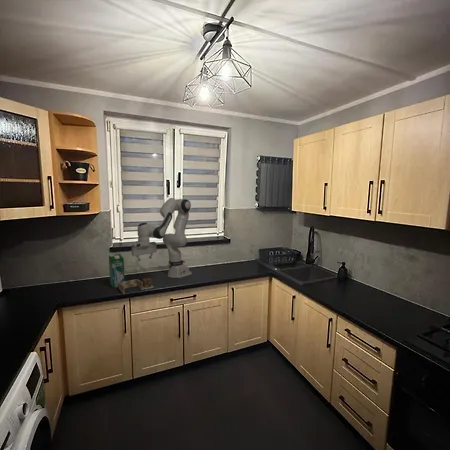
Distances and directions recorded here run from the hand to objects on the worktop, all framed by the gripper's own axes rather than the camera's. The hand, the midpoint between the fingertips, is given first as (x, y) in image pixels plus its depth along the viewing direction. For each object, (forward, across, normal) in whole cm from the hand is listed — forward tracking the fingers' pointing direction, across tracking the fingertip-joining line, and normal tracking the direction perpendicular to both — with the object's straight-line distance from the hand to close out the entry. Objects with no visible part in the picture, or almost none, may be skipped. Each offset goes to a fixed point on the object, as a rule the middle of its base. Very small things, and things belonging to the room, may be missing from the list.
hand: (145, 259), depth 208 cm
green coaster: (+22, +1, +4) cm, 22 cm away
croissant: (+22, +13, +1) cm, 25 cm away
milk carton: (+22, +18, -16) cm, 33 cm away
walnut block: (+21, +1, +4) cm, 22 cm away
